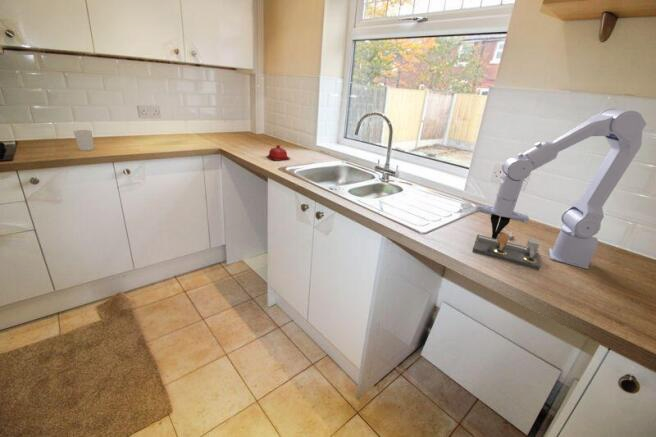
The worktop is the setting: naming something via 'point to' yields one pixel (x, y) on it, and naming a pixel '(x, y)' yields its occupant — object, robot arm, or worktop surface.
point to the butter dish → (278, 154)
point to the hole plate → (510, 251)
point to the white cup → (84, 139)
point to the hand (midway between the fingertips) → (493, 237)
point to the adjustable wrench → (506, 231)
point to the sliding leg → (503, 239)
